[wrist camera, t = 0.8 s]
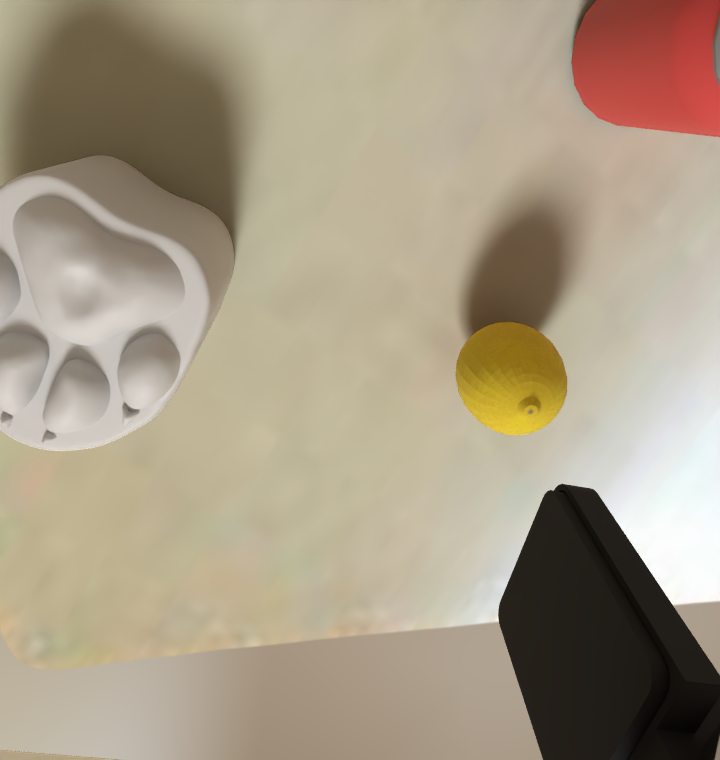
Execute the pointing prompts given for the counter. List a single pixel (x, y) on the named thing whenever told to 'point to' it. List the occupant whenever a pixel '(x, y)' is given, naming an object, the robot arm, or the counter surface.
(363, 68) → the counter surface
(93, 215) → the lumpy-topped squat cylinder
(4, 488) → the counter surface
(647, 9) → the beer can
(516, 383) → the lemon
